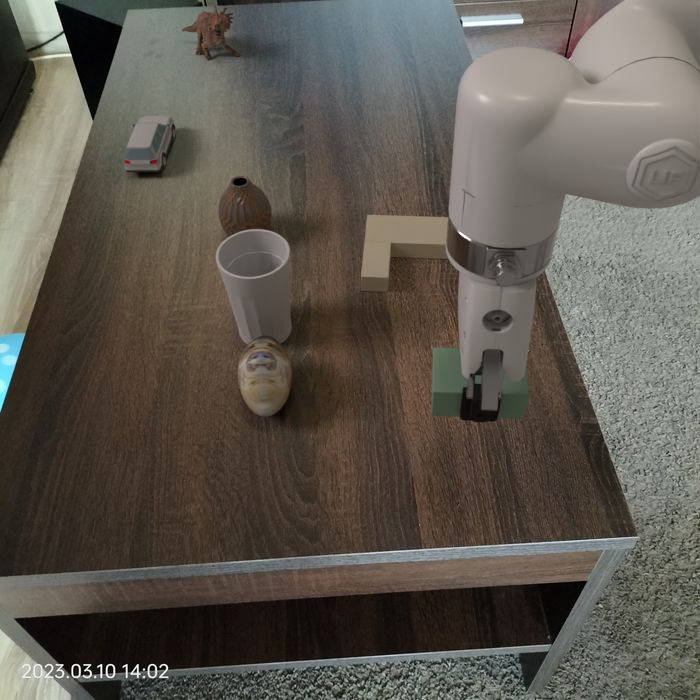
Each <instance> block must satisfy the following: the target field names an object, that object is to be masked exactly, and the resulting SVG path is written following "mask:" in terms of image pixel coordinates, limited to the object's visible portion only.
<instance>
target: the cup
mask: <svg viewBox="0 0 700 700" xmlns="http://www.w3.org/2000/svg"><path fill="white" fill-rule="evenodd" d="M215 261H216V265H217V268H218V270H219V271H218V272H219V273H220V276H221V279H222V282H223V284H224V288H225V291H226V294H227V298H228V301H229V304H230V307H231V310H232V313H233V315H234V319H235V322H236V325H237V329H238V333H239V337H240V339H241V340H242V342H243V343H245V344H246V345H248V344H249V343H250V342H252V341H253V340H254V339H256V338H257V337H259V336H262V335H268V336H270V337H272V338H274V339H276V340H277V341H278V342H279V343H280V344H281V345H282V343H284V342H285V341H287V339H288V338H289V337H290V335H291V333H292V330H293V329H292V328H293V326H292V317H291V281H290V279H291V278H290V277H291V248H290V244H289V243H288V241H287V240H286V239H285V238H284V237H283V236H282V235H281V234H279V233H277V232H275V231H272V230H270V229H269V230H263V229H251V230H245V231H241V232H238V233H236V234H233V235H231V236H230V237H229V236H227V238H225V239H224V240H223V241H222V242H221V243H220V244H219V246H218V247H217V249H216V252H215Z"/></svg>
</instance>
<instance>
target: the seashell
mask: <svg viewBox="0 0 700 700" xmlns="http://www.w3.org/2000/svg"><path fill="white" fill-rule="evenodd" d="M237 381H238V388H239V391H240V394H241V396H242V399H243V401H244V402H245V404H246V406H247V407H248V409H249V410H251V411H252V413H254V414H256V415H257V416H260V417H265V418H266V417H271V416H273V415H275V414H277V413H278V412H279V411H280V410H281V409H282V408H283V406H284V405H285V404H286V403H287V400H288V398H289V396H290V392H291V388H292V382H293V370H292V363H291V360H290V357H289V355H288V352H287V350H286V349H285V348H284V346H283V345H282V343H281V344H280V343H279V342H278V341H277V340H276V339H274V338H272V337H270V336H268V335H262V336H259V337H257V338H256V339H254V340H253V341H252V342H250V343H249V344H246V347H245V348H243V350H242V353H241V355H240V358H239V361H238V367H237Z"/></svg>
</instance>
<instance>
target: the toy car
mask: <svg viewBox="0 0 700 700" xmlns="http://www.w3.org/2000/svg"><path fill="white" fill-rule="evenodd" d="M132 127H133V129H132V132H131V135H130V137H129V140H128V142H127V145H126V148H125V153H124V159H123V162H124V169H125V172H127V173H160V172H161V171H162V170H165V169H166V167H167V157H168V155H169V152H170V148H171V145H172V142H173V141H175V139H176V125H175V122H174V120H173V118H172V117H171V116H170V115H164V114H163V115H161V114H160V115H159V114H157V115H153V114H152V115H144V116H141V117H140V118H139V119H138V121H137V123H136V122H135V123H132Z"/></svg>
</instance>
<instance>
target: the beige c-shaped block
mask: <svg viewBox="0 0 700 700" xmlns="http://www.w3.org/2000/svg"><path fill="white" fill-rule="evenodd" d="M447 222H448V216H421V215H419V216H418V215H394V214H393V215H392V214H391V215H390V214H367V215H366V223H365V232H364V233H365V234H364V243H363V253H362V261H361V264H362V265H361V271H360V272H361V273H360V291H361V292H377V293H378V292H379V293H388V292H389V286H390V271H391V260H392V259H391V258H406V259H407V258H408V259H430V260H431V259H434V260H449V259H448V257H447V254H446V235H447Z"/></svg>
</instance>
